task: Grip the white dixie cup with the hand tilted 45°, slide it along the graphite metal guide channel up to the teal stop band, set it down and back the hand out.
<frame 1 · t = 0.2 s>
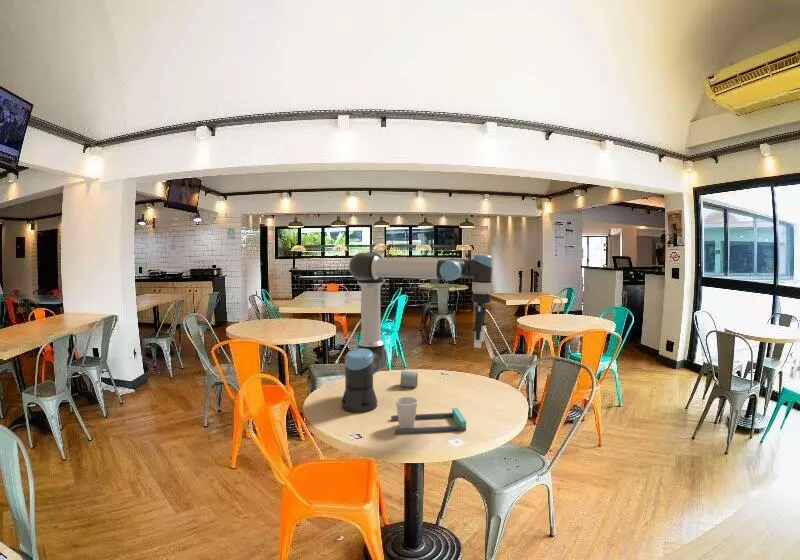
hand: (479, 344, 180), 27 cm above the table, tool pointing down, fingers open, 13 cm apart
dixie cup: (406, 426, 166), on the table
ceramic mug: (408, 386, 213), on the table
teal band: (458, 423, 168), on the table
guide rails: (426, 424, 167), on the table
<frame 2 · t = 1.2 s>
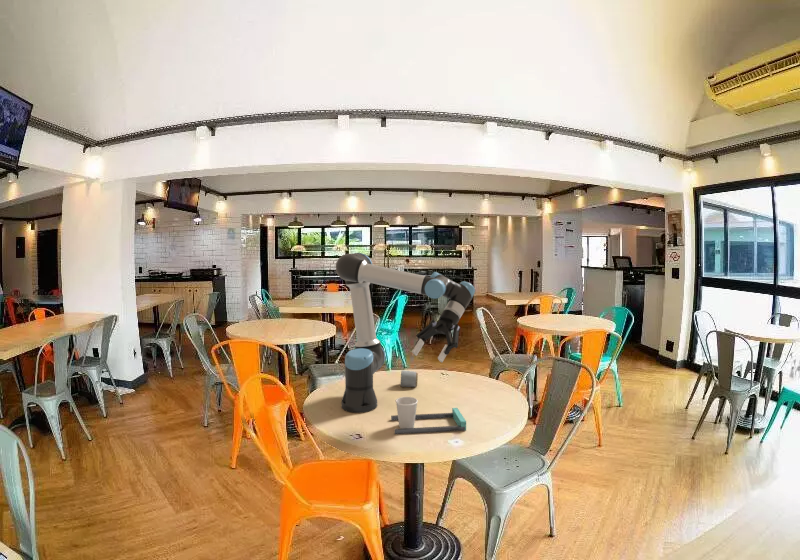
hand: (426, 357, 171), 25 cm above the table, tool tilted 45°, fingers open, 13 cm apart
nothing on the table moved.
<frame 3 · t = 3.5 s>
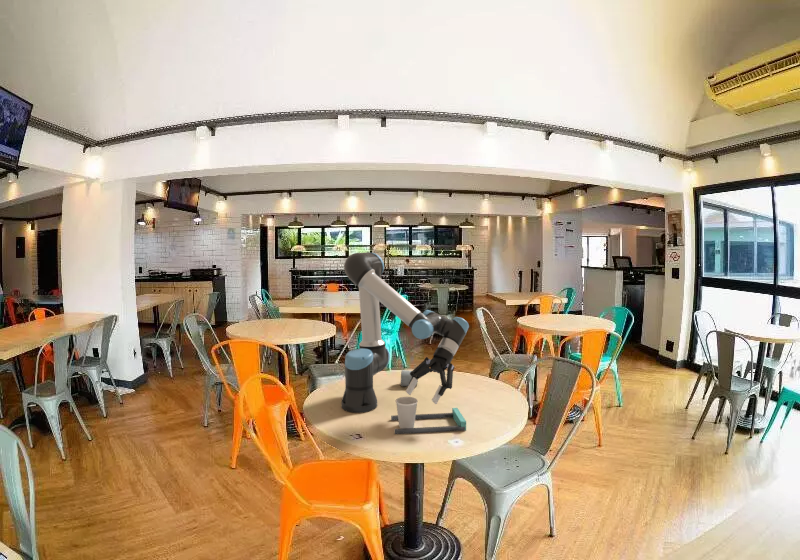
hand: (420, 397, 168), 10 cm above the table, tool tilted 45°, fingers open, 13 cm apart
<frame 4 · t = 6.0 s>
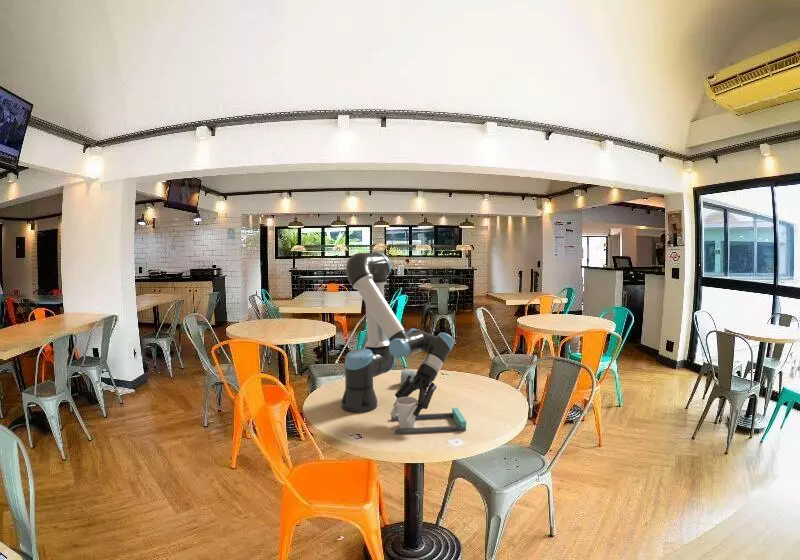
hand: (400, 419, 163), 4 cm above the table, tool tilted 45°, fingers closed on dixie cup, 8 cm apart
dixie cup: (406, 426, 166), on the table, touching gripper
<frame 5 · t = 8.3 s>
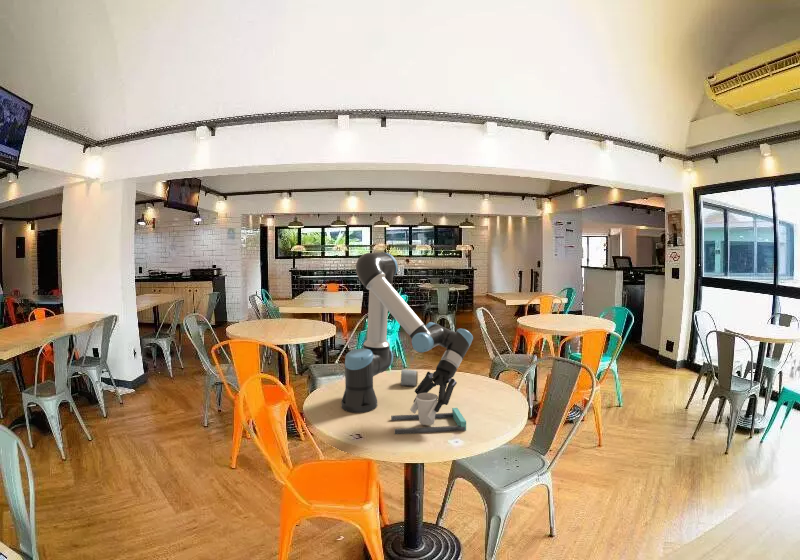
hand: (420, 415, 163), 5 cm above the table, tool tilted 45°, fingers closed on dixie cup, 8 cm apart
dixie cup: (426, 422, 166), point 1 cm above the table, touching gripper
when the fingers open (4 cm above the table, at t = 10.5 s): dixie cup stays where it is, on the table.
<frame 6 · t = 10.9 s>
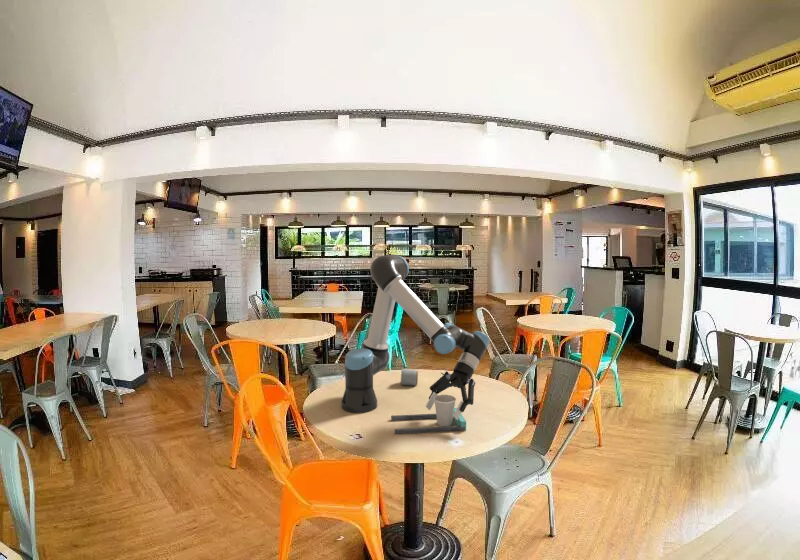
hand: (440, 413, 166), 5 cm above the table, tool tilted 45°, fingers open, 13 cm apart
dixie cup: (444, 424, 168), on the table
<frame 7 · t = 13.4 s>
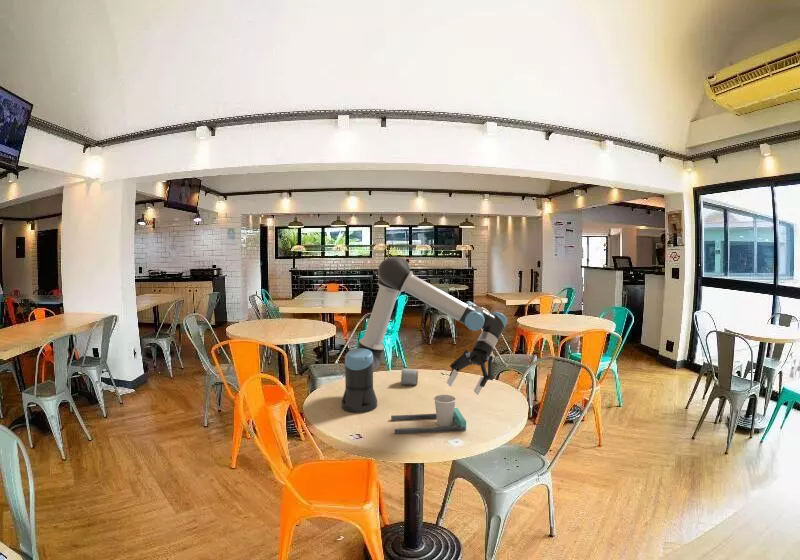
hand: (461, 388, 174), 11 cm above the table, tool tilted 45°, fingers open, 13 cm apart
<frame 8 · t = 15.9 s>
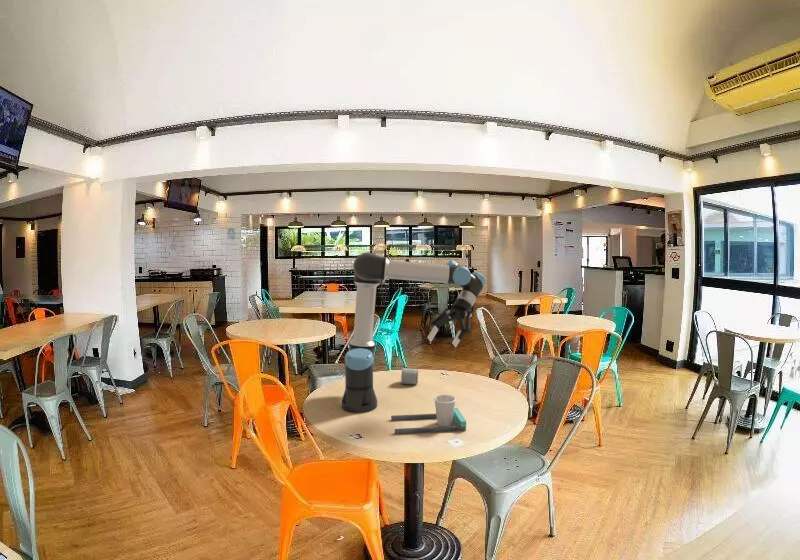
hand: (441, 342, 183), 28 cm above the table, tool tilted 45°, fingers open, 13 cm apart
at the end: dixie cup 5.5 cm from the teal band (horizontally); dixie cup tilted 0°; the gripper is holding nothing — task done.
